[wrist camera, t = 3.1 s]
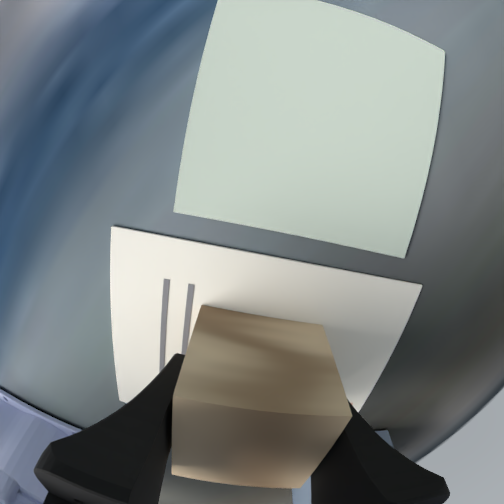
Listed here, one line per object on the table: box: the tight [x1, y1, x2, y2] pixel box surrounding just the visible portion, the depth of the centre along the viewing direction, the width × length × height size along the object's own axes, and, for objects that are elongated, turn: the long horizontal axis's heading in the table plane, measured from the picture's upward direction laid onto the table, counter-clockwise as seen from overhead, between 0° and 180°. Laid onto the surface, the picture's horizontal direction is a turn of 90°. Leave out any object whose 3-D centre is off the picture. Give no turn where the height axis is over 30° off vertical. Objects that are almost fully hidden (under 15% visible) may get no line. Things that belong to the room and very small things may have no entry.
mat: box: [174, 0, 445, 258], centre depth 9 cm, size 9×9×1 cm
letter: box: [110, 226, 422, 412], centre depth 13 cm, size 13×10×1 cm
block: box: [172, 305, 352, 488], centre depth 10 cm, size 5×5×5 cm
